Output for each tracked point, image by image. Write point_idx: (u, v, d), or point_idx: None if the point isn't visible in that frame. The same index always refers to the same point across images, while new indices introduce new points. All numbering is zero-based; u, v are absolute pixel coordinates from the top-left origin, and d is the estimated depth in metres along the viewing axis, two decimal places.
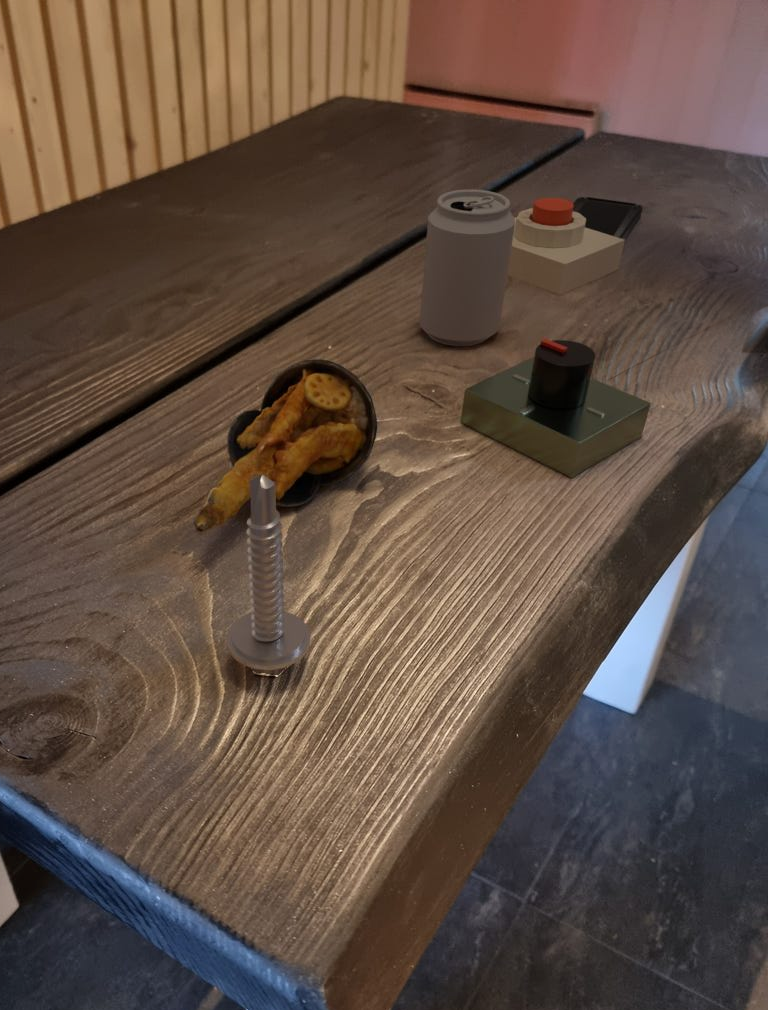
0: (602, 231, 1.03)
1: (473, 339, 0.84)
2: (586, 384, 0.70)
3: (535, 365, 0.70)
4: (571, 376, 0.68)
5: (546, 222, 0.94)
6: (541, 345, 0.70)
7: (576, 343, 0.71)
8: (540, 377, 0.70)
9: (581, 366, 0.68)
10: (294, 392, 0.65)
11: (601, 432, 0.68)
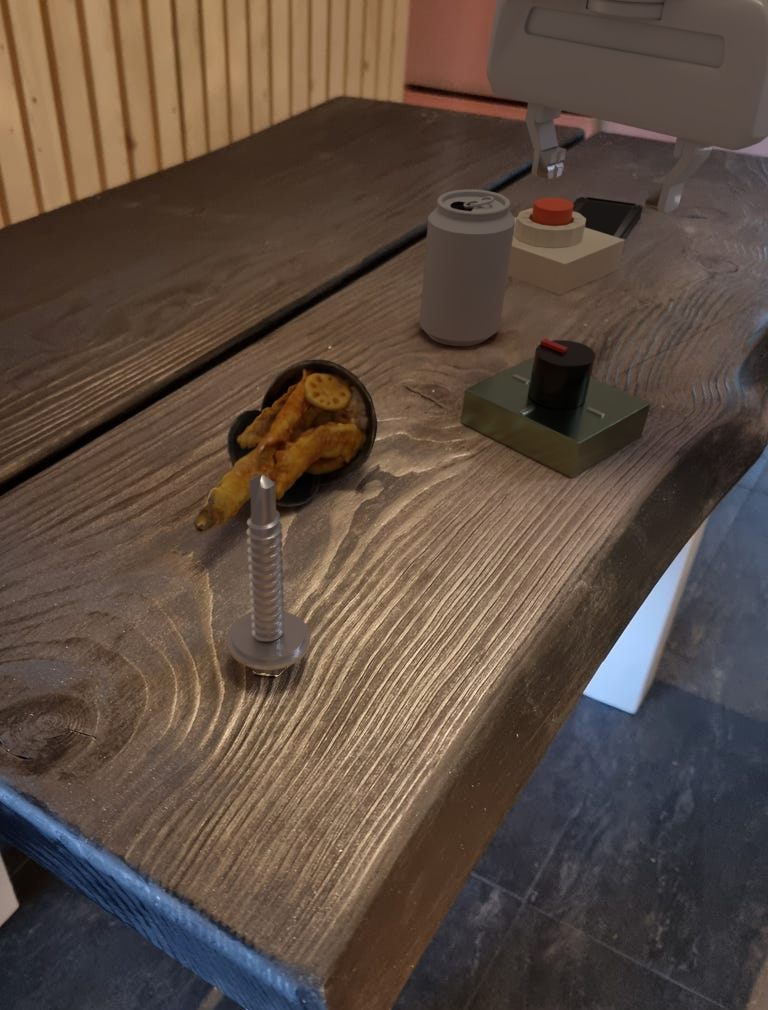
0: (602, 231, 1.03)
1: (473, 339, 0.84)
2: (586, 384, 0.70)
3: (535, 365, 0.70)
4: (571, 376, 0.68)
5: (546, 222, 0.94)
6: (541, 345, 0.70)
7: (576, 343, 0.71)
8: (540, 377, 0.70)
9: (581, 366, 0.68)
10: (294, 392, 0.65)
11: (601, 432, 0.68)
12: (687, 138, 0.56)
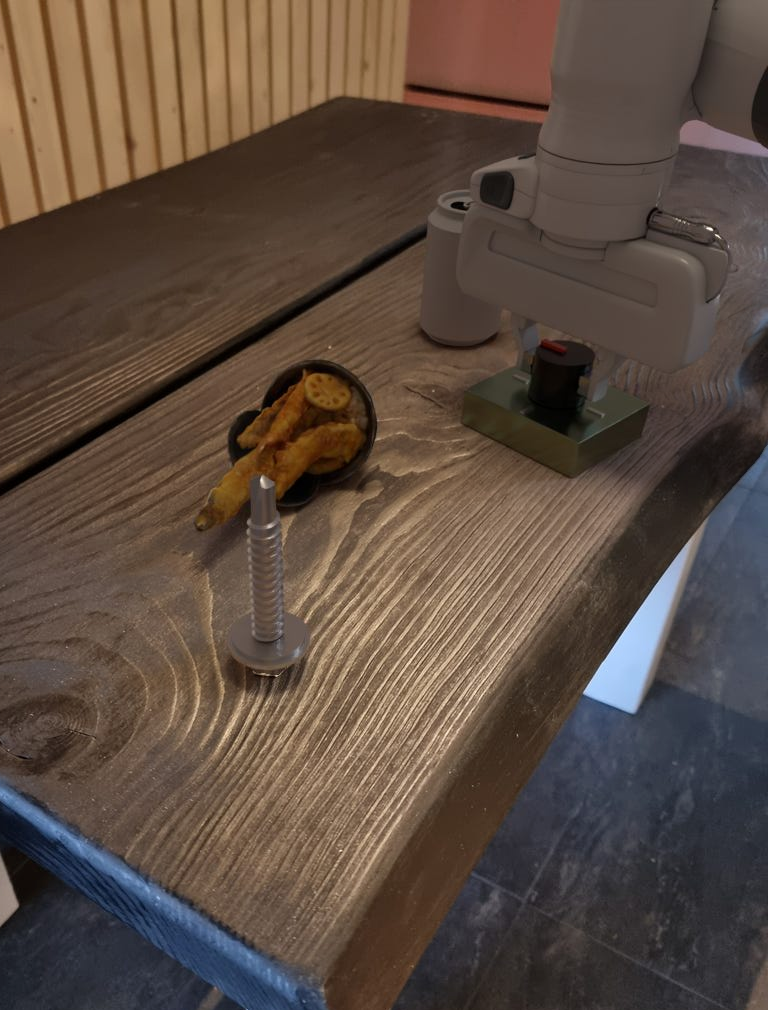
0: None
1: (473, 339, 0.84)
2: None
3: (535, 365, 0.70)
4: (571, 376, 0.68)
5: None
6: (541, 345, 0.70)
7: (576, 343, 0.71)
8: (541, 377, 0.70)
9: (581, 366, 0.68)
10: (294, 392, 0.65)
11: (601, 432, 0.68)
12: (629, 358, 0.64)
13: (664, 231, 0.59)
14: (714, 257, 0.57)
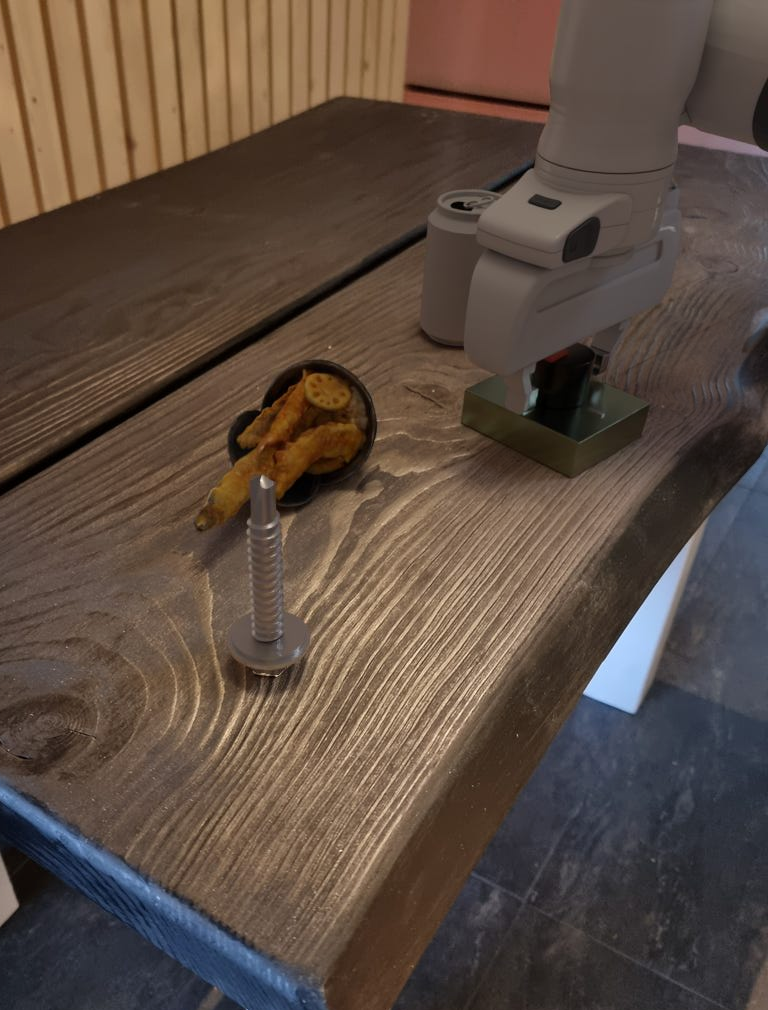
0: None
1: None
2: None
3: (575, 376, 0.68)
4: None
5: None
6: (554, 362, 0.68)
7: None
8: (584, 380, 0.69)
9: (589, 348, 0.70)
10: (294, 392, 0.65)
11: (601, 432, 0.68)
12: (638, 313, 0.70)
13: None
14: (674, 196, 0.67)
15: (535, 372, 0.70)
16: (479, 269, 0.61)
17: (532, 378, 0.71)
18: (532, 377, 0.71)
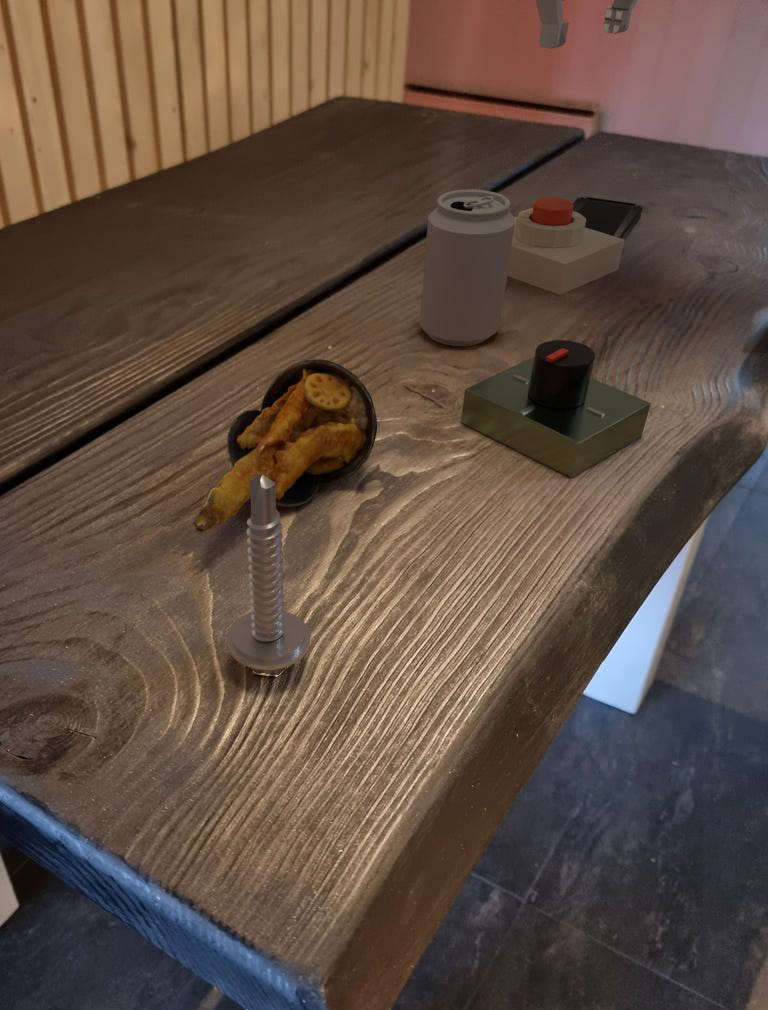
0: (602, 231, 1.03)
1: (473, 339, 0.84)
2: None
3: (575, 376, 0.68)
4: None
5: (546, 222, 0.94)
6: (554, 362, 0.68)
7: (541, 346, 0.70)
8: (584, 380, 0.69)
9: (589, 348, 0.70)
10: (294, 392, 0.65)
11: (601, 432, 0.68)
12: None
13: None
14: None
15: (535, 372, 0.70)
16: None
17: (532, 378, 0.71)
18: (532, 377, 0.71)
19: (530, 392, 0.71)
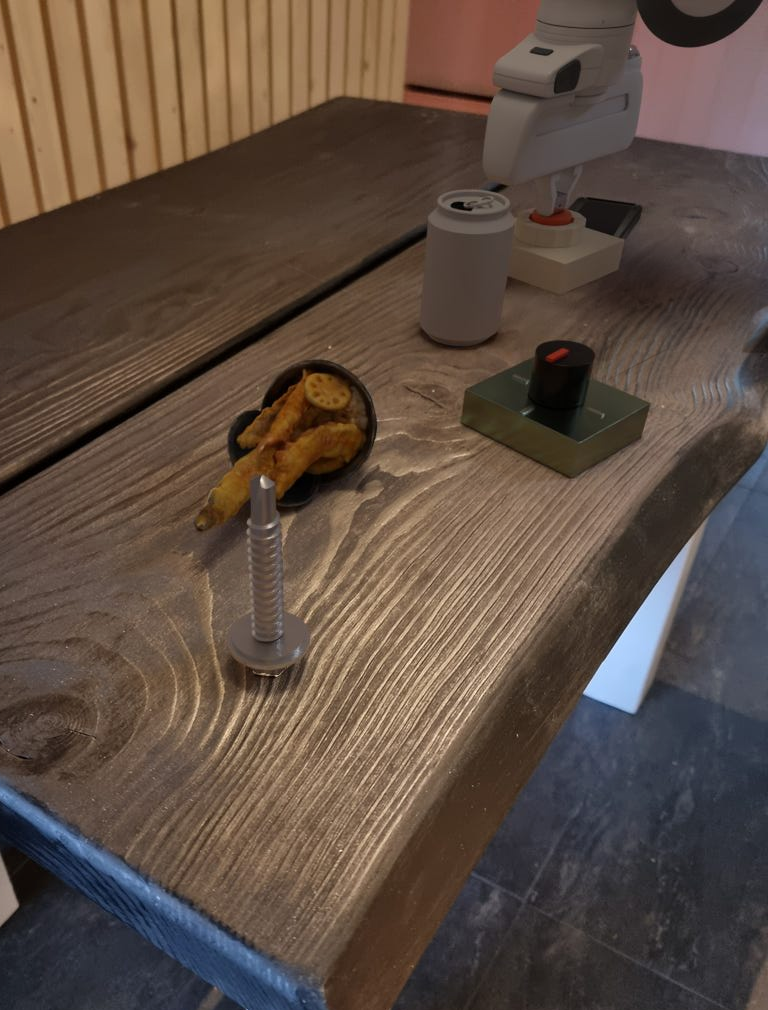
0: (602, 231, 1.03)
1: (473, 339, 0.84)
2: None
3: (575, 376, 0.68)
4: None
5: None
6: (554, 362, 0.68)
7: (541, 346, 0.70)
8: (584, 380, 0.69)
9: (589, 348, 0.70)
10: (294, 392, 0.65)
11: (601, 432, 0.68)
12: (611, 153, 0.94)
13: None
14: (637, 62, 0.91)
15: (535, 372, 0.70)
16: (494, 103, 0.85)
17: (532, 378, 0.71)
18: (532, 377, 0.71)
19: (530, 392, 0.71)
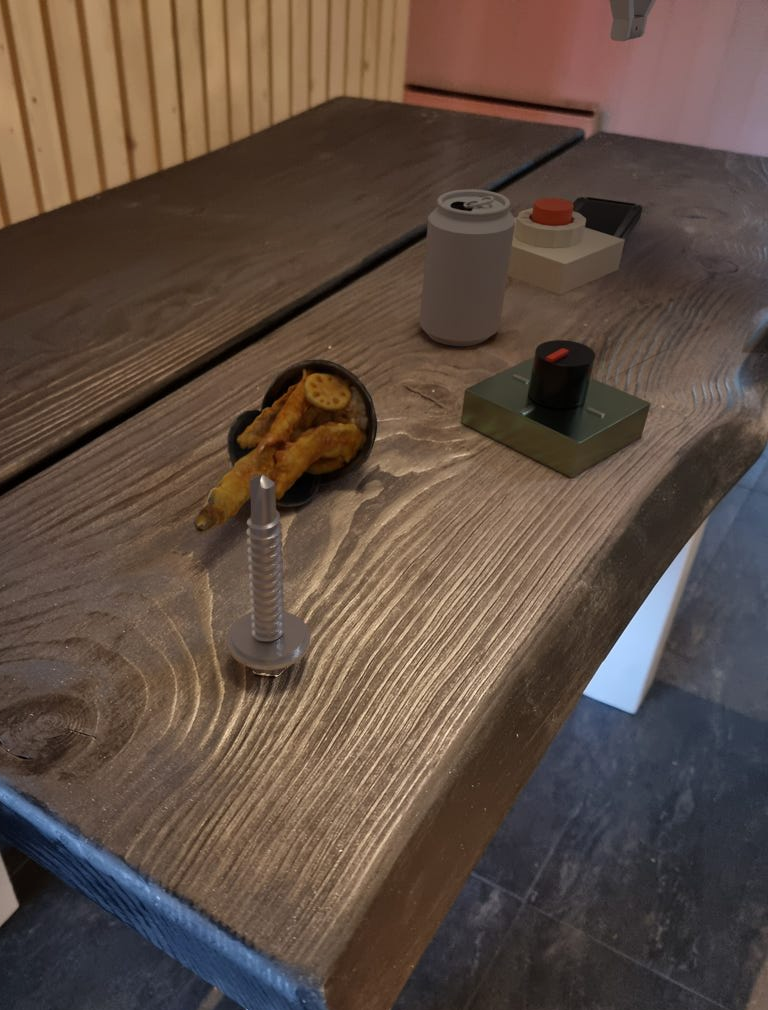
0: (602, 231, 1.03)
1: (473, 339, 0.84)
2: None
3: (575, 376, 0.68)
4: None
5: (546, 222, 0.94)
6: (554, 362, 0.68)
7: (541, 346, 0.70)
8: (584, 380, 0.69)
9: (589, 348, 0.70)
10: (294, 392, 0.65)
11: (601, 432, 0.68)
12: None
13: None
14: None
15: (535, 372, 0.70)
16: None
17: (532, 378, 0.71)
18: (532, 377, 0.71)
19: (530, 392, 0.71)
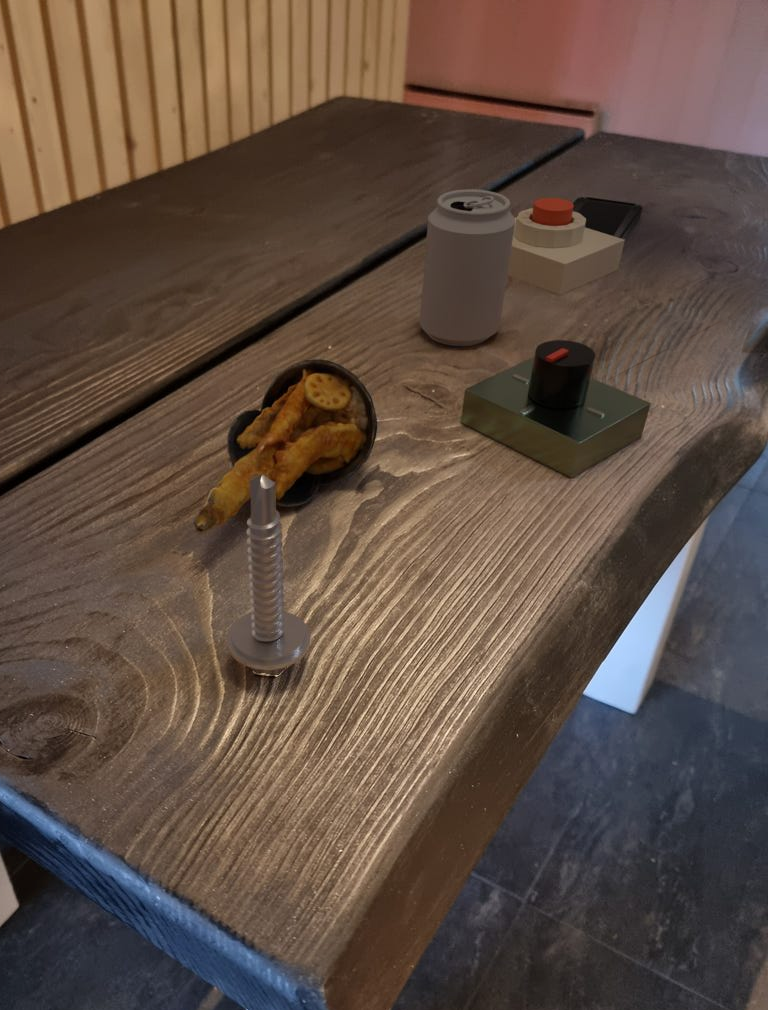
0: (602, 231, 1.03)
1: (473, 339, 0.84)
2: None
3: (575, 376, 0.68)
4: None
5: (546, 222, 0.94)
6: (554, 362, 0.68)
7: (541, 346, 0.70)
8: (584, 380, 0.69)
9: (589, 348, 0.70)
10: (294, 392, 0.65)
11: (601, 432, 0.68)
12: None
13: None
14: None
15: (535, 372, 0.70)
16: None
17: (532, 378, 0.71)
18: (532, 377, 0.71)
19: (530, 392, 0.71)
